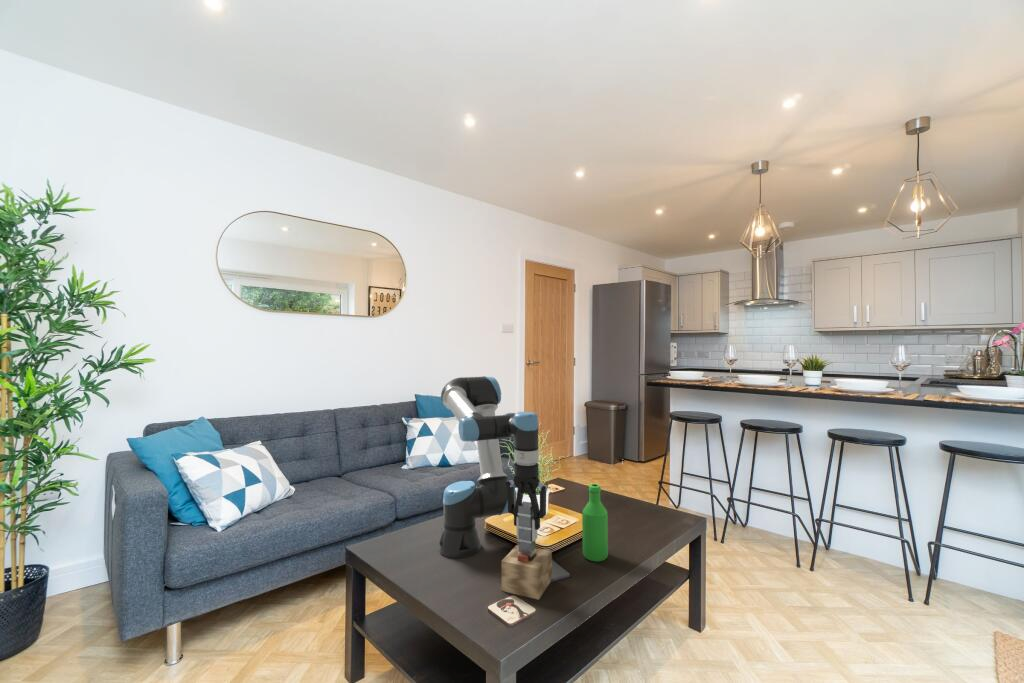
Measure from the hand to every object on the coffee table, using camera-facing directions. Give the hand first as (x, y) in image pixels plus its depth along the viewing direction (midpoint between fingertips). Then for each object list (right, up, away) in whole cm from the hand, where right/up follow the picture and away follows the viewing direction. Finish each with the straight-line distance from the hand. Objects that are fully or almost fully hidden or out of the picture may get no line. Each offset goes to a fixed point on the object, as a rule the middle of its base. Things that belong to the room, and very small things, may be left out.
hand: (527, 537), depth 137 cm
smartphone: (+8, -15, +10) cm, 20 cm away
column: (0, -12, 0) cm, 12 cm away
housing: (0, -15, 0) cm, 15 cm away
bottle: (+25, -15, +18) cm, 34 cm away
